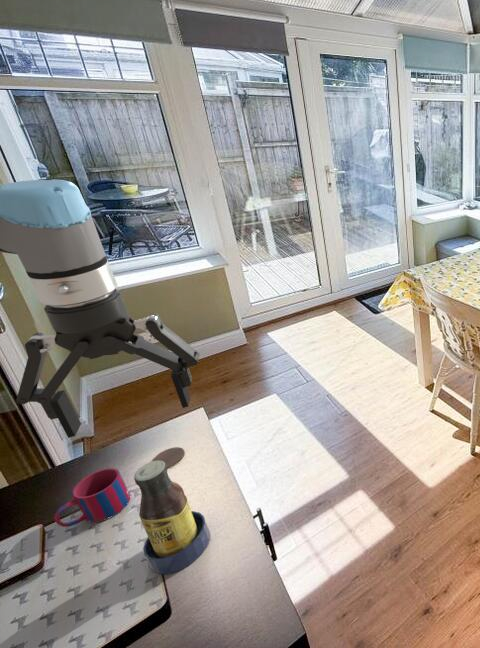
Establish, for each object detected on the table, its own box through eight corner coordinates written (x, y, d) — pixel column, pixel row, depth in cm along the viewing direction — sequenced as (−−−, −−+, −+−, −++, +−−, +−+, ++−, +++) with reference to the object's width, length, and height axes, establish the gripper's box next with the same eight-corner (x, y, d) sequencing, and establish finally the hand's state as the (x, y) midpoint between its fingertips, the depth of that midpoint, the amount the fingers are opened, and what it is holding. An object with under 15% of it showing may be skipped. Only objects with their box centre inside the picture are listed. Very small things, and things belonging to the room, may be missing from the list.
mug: (137, 501, 83) (125, 477, 81) (70, 544, 75) (55, 519, 73) (122, 486, 86) (110, 462, 84) (56, 526, 78) (41, 501, 75)
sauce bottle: (149, 561, 73) (109, 483, 65) (180, 527, 78) (147, 451, 70) (181, 568, 72) (145, 489, 64) (210, 533, 78) (180, 457, 70)
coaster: (147, 473, 89) (147, 472, 89) (155, 453, 94) (155, 452, 94) (181, 464, 91) (180, 463, 91) (187, 445, 96) (186, 444, 96)
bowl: (143, 583, 70) (136, 569, 68) (158, 536, 77) (151, 522, 76) (205, 561, 73) (199, 547, 72) (214, 518, 81) (208, 504, 79)
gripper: (-75, 331, 47) (8, 464, 56) (190, 290, 59) (226, 405, 67) (-38, 302, 53) (32, 426, 62) (196, 270, 65) (228, 378, 73)
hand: (133, 415), depth 65 cm, fingers open, 13 cm apart
